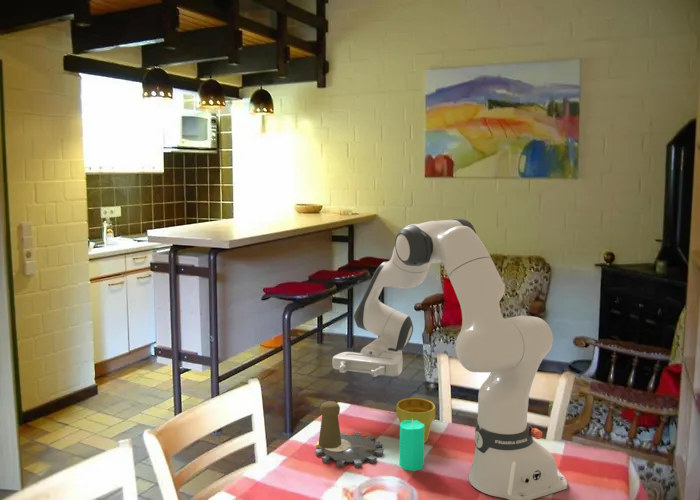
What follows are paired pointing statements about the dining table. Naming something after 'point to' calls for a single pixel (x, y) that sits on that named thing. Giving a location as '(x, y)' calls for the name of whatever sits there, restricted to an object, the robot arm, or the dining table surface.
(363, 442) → the sprocket plate
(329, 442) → the cork
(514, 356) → the robot arm
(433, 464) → the dining table surface
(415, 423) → the candle
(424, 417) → the plant pot
